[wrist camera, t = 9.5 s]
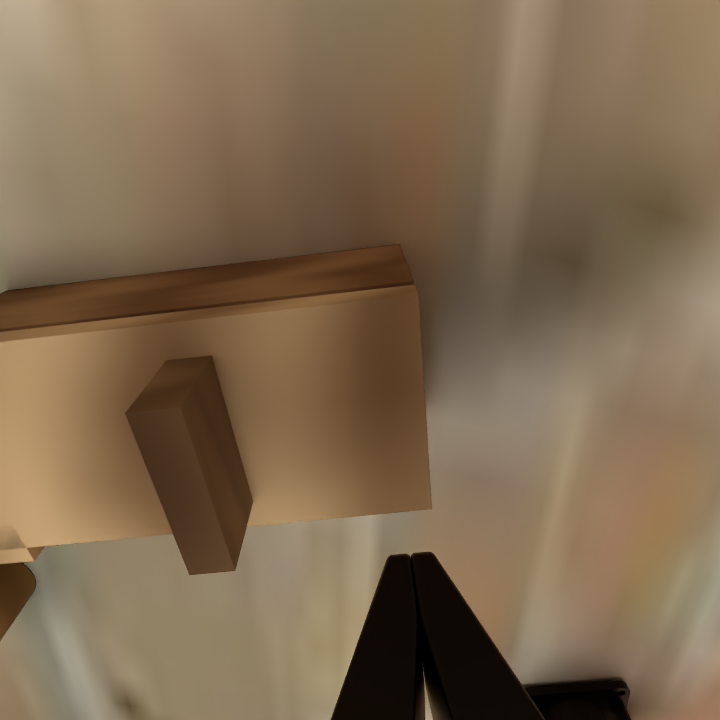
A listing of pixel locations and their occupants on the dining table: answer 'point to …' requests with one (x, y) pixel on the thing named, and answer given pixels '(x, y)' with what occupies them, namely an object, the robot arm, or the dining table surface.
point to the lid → (212, 423)
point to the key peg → (13, 592)
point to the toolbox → (204, 288)
